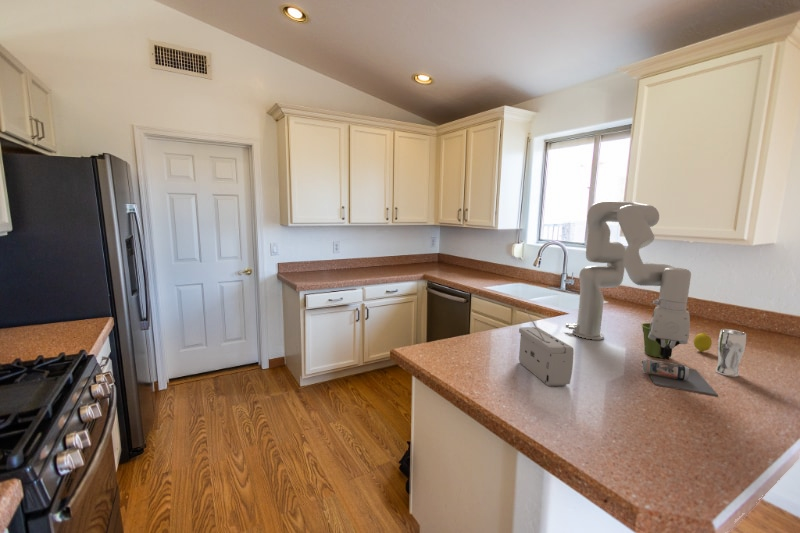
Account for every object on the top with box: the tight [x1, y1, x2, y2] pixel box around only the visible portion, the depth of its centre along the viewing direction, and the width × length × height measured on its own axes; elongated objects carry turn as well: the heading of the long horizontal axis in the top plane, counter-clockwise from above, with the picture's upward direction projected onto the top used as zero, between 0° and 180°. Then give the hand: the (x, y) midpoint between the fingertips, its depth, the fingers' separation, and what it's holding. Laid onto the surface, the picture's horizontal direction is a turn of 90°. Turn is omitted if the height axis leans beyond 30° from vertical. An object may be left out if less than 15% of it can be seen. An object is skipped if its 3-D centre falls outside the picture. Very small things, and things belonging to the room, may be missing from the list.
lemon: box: [693, 332, 712, 353], centre depth 146 cm, size 6×6×8 cm
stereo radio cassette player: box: [518, 309, 575, 387], centre depth 120 cm, size 21×8×20 cm, turn 9°
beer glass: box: [714, 328, 747, 378], centre depth 125 cm, size 7×7×15 cm
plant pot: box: [640, 322, 669, 359], centre depth 141 cm, size 12×12×11 cm
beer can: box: [642, 358, 690, 380], centre depth 121 cm, size 5×5×12 cm
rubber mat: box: [641, 360, 719, 397], centre depth 121 cm, size 16×20×1 cm
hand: (664, 358), depth 122 cm, fingers closed
